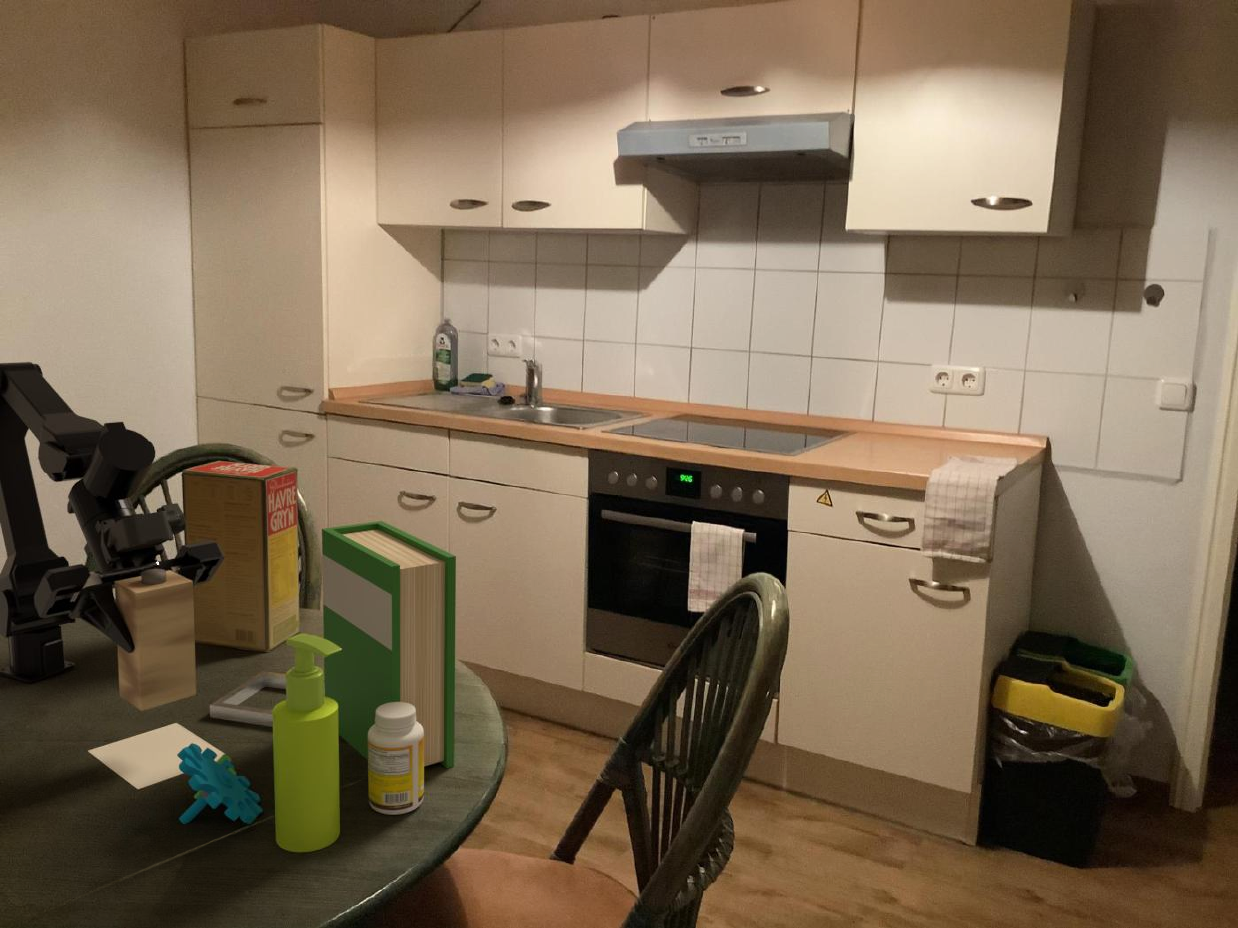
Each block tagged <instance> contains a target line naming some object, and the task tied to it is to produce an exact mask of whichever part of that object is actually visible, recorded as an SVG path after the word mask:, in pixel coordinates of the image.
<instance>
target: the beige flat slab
mask: <svg viewBox="0 0 1238 928" xmlns="http://www.w3.org/2000/svg"><path fill="white" fill-rule="evenodd" d="M191 743H193V744H196V745H198V746H200V748H201V749H202V752H201V754H202V753H203V752H204V751H205V750H206V749H207V748H209V749H211V750H212V751H214V752H215V753H216V754H217V757H216V758H215V759H214V760H215V761H216V762H217V761H218V760H219V759H220V758H221V756H222V755H223V754H225V753H224V752H223V751H221V750H220V749H218V748H217V747H215V746H213V745H212V744H210V743H209V742H207V741H206V740H204V739H203V738H201V737H199V735H197V734H195V733H193V732H192V731H190V730H189V729H187V728H185V727H184V726H183V725H180V724H179V723H178V722H174V723H172V724H168V725H166V726H162V727H160V728H155V729H153V730H150V731H146V732H144V733H140V734H137V735H133V736H131V737H130V736H129V737H127V738H124V739H120V740H118V741H114V742H110V743H108V744H105V745H102V746H99V747H94V748H93V749H89V750H87V752H88V753H89V754H90V755H92V756H93V757H95V758H96V759H97V760H98V761H100V762H101V763H102V764H104V765H105V766H106V767H107V768H109V769H110V770H112V771H113V772H115V773H116V774H117V775H118V776H120V777H121V778H123V780H125V781H126V782H128V783H129V784H130V785H131V786H132V787H134V788H135V789H136V790H140V789H143V788H146V787H149V786H152V785H155V784H157V783H160V782H164V781H166V780H169V779H172V778H175V777H178V776H180V775H182V774H184V773H183V772H182V771H181V770H180V769H179V764H180V763H181V762H182V761H183V760H181V759H180V758H179V757H178V756H177V754H178V753H179V752H180V751H181V750H182V749H183V748H185V747H188V746H189V745H190V744H191Z"/></svg>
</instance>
